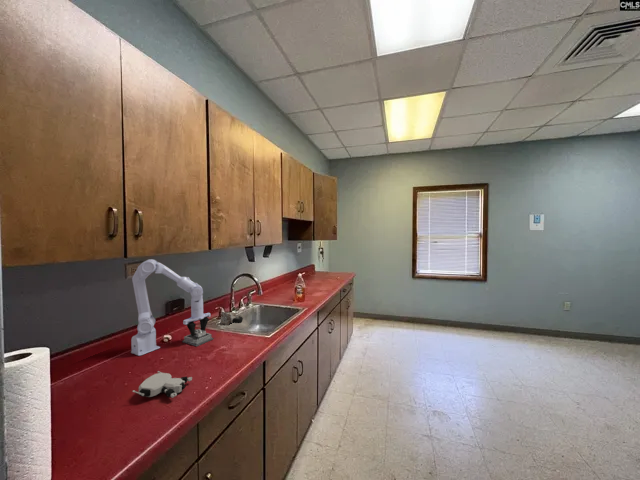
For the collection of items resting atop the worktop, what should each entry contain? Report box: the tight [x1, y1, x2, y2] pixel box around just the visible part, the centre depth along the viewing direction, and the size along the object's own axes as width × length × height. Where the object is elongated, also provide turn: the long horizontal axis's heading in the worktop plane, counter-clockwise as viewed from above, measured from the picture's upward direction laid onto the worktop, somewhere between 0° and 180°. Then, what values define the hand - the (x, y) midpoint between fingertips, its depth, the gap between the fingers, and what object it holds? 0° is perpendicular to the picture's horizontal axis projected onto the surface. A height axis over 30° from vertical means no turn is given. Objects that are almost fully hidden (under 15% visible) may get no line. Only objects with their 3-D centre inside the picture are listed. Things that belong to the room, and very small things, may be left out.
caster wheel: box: [219, 311, 244, 326], centre depth 160 cm, size 7×11×10 cm
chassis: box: [181, 332, 215, 347], centre depth 133 cm, size 10×12×3 cm
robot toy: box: [132, 370, 193, 399], centre depth 89 cm, size 12×4×15 cm
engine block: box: [191, 328, 207, 339], centre depth 133 cm, size 4×6×5 cm
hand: (197, 333), depth 133 cm, fingers open, 5 cm apart
